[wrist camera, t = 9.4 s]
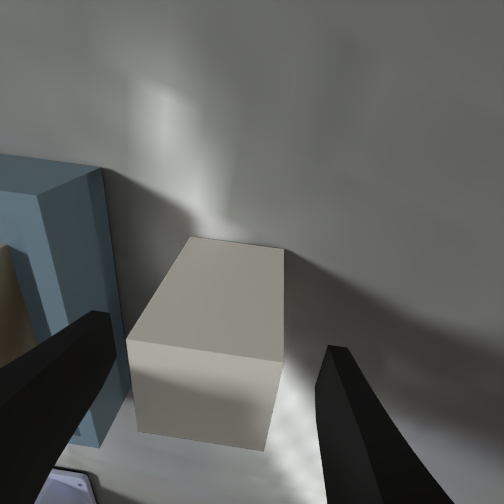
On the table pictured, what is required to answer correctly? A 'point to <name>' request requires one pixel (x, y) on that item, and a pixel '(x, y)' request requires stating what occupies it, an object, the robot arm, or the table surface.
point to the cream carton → (211, 345)
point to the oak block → (12, 314)
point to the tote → (64, 263)
